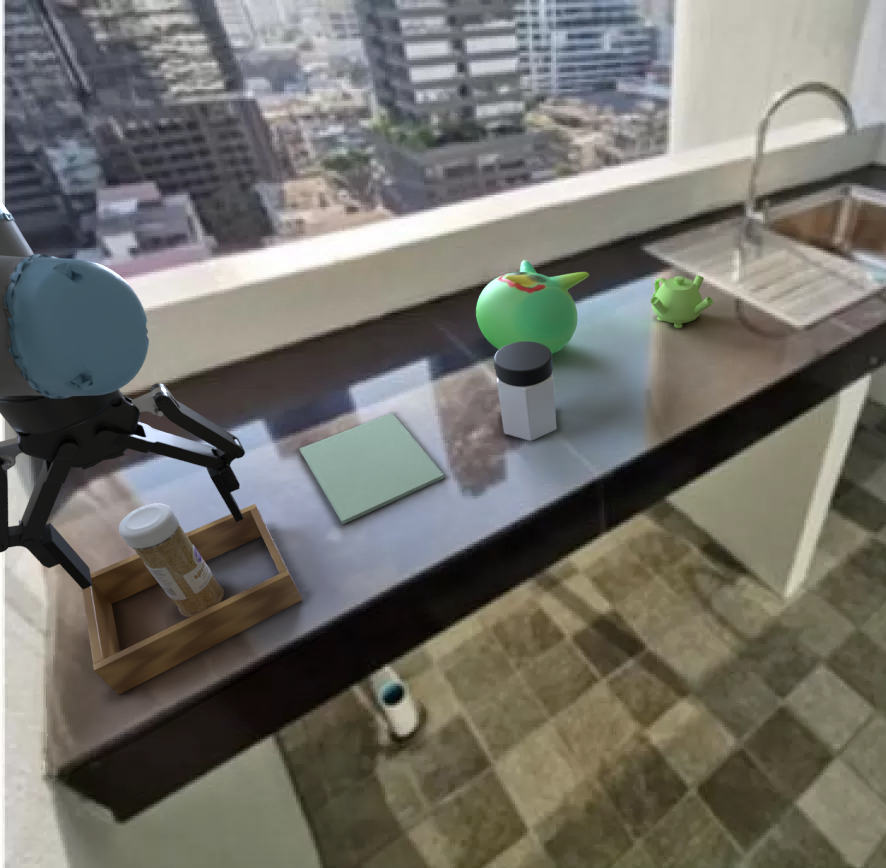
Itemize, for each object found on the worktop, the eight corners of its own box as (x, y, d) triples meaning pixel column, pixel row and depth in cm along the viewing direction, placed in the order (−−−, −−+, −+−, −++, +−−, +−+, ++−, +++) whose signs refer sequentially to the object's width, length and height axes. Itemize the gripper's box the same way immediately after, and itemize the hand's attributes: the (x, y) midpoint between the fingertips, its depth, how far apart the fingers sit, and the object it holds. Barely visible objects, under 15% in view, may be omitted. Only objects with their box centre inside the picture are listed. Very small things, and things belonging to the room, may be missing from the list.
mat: (444, 477, 82) (444, 474, 82) (343, 524, 76) (341, 521, 75) (392, 415, 94) (392, 412, 93) (300, 451, 87) (299, 448, 87)
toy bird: (463, 352, 108) (449, 275, 99) (527, 316, 119) (520, 243, 109) (538, 386, 100) (531, 304, 90) (600, 344, 110) (599, 267, 101)
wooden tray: (118, 695, 59) (93, 670, 56) (102, 603, 67) (80, 577, 64) (302, 600, 67) (289, 574, 64) (268, 528, 75) (255, 503, 73)
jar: (540, 400, 96) (534, 333, 89) (569, 425, 91) (565, 357, 84) (490, 421, 92) (480, 353, 85) (518, 448, 87) (509, 379, 80)
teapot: (645, 305, 122) (647, 265, 116) (702, 304, 122) (706, 264, 116) (649, 332, 113) (651, 291, 108) (710, 332, 113) (715, 290, 108)
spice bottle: (231, 602, 67) (176, 518, 59) (186, 627, 65) (122, 543, 56) (217, 578, 70) (163, 494, 61) (174, 601, 67) (111, 517, 59)
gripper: (202, 304, 56) (281, 471, 70) (-171, 406, 44) (11, 584, 58) (221, 336, 52) (302, 508, 65) (-188, 459, 40) (14, 638, 53)
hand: (165, 544), depth 61 cm, fingers open, 13 cm apart
